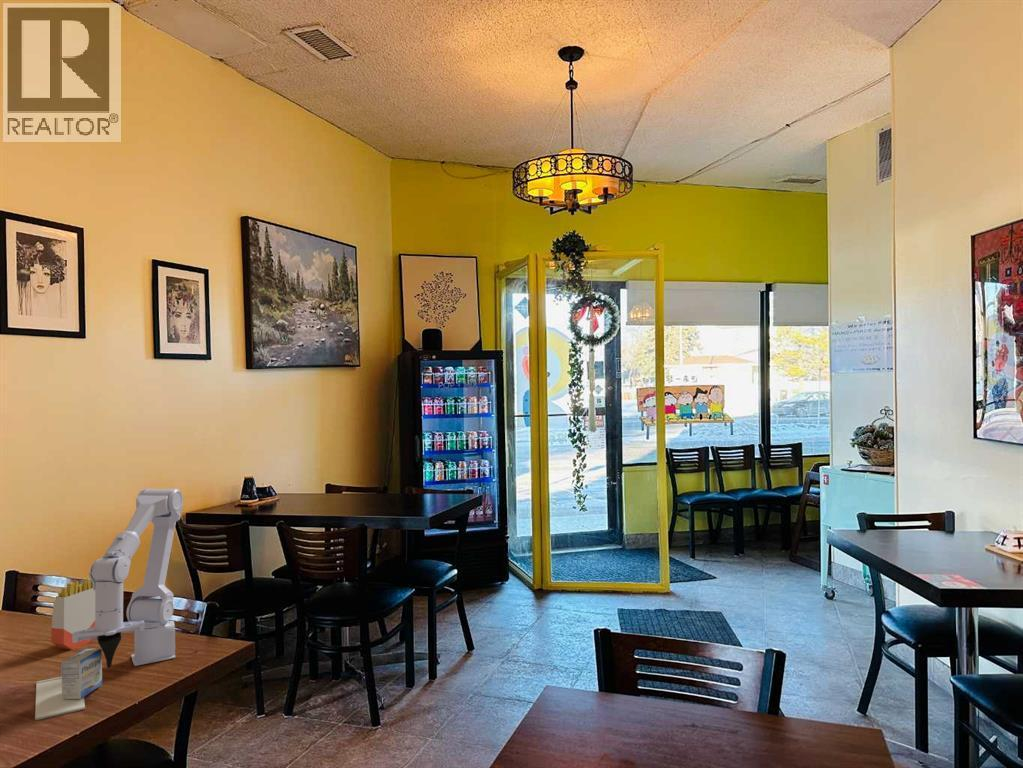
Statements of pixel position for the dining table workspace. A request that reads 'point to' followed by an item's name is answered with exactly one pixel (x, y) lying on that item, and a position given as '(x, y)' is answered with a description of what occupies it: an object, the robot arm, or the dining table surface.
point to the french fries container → (73, 613)
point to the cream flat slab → (54, 700)
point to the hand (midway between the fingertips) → (108, 666)
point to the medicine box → (81, 674)
